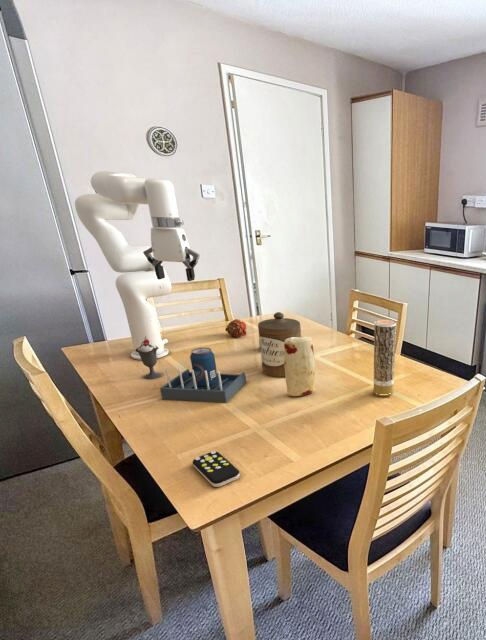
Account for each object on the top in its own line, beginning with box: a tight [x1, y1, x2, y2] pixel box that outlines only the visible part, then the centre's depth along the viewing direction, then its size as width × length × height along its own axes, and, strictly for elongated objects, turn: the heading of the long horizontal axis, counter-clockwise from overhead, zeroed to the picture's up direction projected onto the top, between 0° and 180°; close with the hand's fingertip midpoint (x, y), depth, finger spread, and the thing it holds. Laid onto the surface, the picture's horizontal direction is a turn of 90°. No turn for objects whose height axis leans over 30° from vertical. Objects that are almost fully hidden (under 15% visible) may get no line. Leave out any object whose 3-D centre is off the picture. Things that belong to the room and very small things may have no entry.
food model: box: [284, 336, 316, 397], centre depth 132 cm, size 10×7×20 cm
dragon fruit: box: [225, 318, 247, 338], centre depth 186 cm, size 8×8×12 cm
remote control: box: [192, 450, 241, 488], centre depth 95 cm, size 6×13×2 cm, turn 48°
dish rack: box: [159, 368, 247, 403], centre depth 133 cm, size 16×20×10 cm
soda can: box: [189, 347, 218, 388], centre depth 132 cm, size 7×7×12 cm
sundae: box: [134, 336, 162, 380], centre depth 139 cm, size 7×7×15 cm
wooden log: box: [373, 319, 397, 398], centre depth 135 cm, size 7×7×25 cm
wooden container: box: [257, 311, 302, 378], centre depth 150 cm, size 15×15×22 cm
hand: (176, 279), depth 133 cm, fingers open, 9 cm apart
